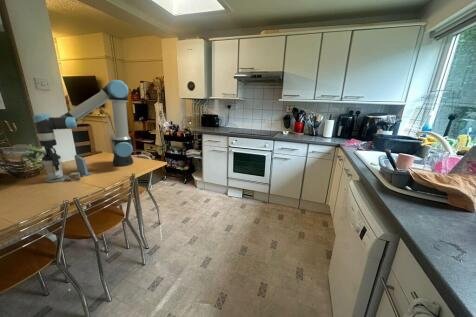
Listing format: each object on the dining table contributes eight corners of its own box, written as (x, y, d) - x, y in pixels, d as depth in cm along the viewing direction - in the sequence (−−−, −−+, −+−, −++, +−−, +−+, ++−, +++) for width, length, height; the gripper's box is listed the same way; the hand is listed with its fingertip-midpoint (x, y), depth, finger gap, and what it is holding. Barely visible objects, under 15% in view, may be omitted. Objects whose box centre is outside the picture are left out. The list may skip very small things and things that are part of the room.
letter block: (80, 178, 135) (79, 171, 134) (79, 180, 131) (78, 174, 130) (72, 179, 133) (70, 172, 132) (71, 181, 129) (69, 175, 128)
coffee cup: (68, 174, 135) (63, 153, 131) (56, 179, 127) (49, 157, 122) (56, 173, 136) (51, 152, 131) (43, 178, 127) (36, 156, 123)
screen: (74, 171, 146) (71, 155, 142) (82, 169, 149) (79, 154, 146) (83, 176, 137) (79, 160, 133) (91, 174, 141) (88, 158, 137)
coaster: (73, 175, 139) (73, 174, 138) (61, 182, 127) (61, 181, 127) (53, 175, 137) (53, 174, 136) (40, 183, 125) (40, 182, 125)
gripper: (34, 137, 127) (44, 170, 134) (44, 143, 115) (53, 179, 122) (50, 136, 133) (58, 167, 140) (60, 141, 121) (68, 175, 128)
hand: (56, 173), depth 131 cm, fingers open, 9 cm apart
